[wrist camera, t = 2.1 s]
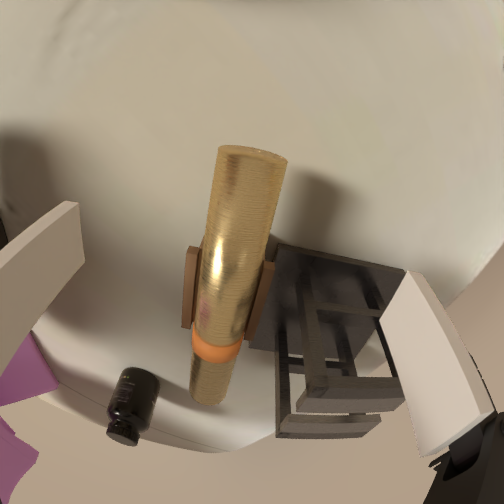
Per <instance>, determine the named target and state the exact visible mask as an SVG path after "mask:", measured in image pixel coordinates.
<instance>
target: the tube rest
mask: <svg viewBox="0 0 504 504" xmlns="http://www.w3.org/2000/svg"><path fill="white" fill-rule="evenodd" d="M204 237H205V235H204ZM204 237H203V240H202V242H201V245H200V247H199V248H198V247H193V246H189V248H188V250H187V253H186V264H185V276H184V290H183V306H182V326H181V327H182V328H186V329H190V328H191V324H192V322H194V321H195V313H196V303H197V294H198V285H199V276H200V268H201V260H202V252H203V245H204ZM274 272H275V262H269V261H265V253H264V256H263V260H262V264H261V268H260V272H259V275H258V279H257V283H256V287H255V290H254V294H253V298H252V302H251V305H250V309H249V313H248V317H247V320H246V324H245V328H244V332H245V334H244V340H249V341H253V339H254V336H255V333H256V329H257V326H258V323H259V320H260V317H261V314H262V311H263V307H264V304H265V301H266V298H267V294H268V291H269V288H270V285H271V281H272V278H273V275H274Z"/></svg>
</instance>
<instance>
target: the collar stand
mask: <svg viewBox="0 0 504 504" xmlns="http://www.w3.org/2000/svg"><path fill="white" fill-rule="evenodd" d="M273 262H275V272H274V275H273V278H272V281H271V285H270V288H269V291H268V294H267V298H266V301H265V304H264V307H263V311H262V314H261V317H260V320H259V323H258V326H257V329H256V333H255V336H254V339H253V341H249V348H254V349H260V350H267V351H274V352H275V399H276V438H291V439H340V438H358V437H362V436H364V435H365V434H366V433H367V432H369V431H370V430H371V429H373V428H374V427H375V426H376V425H378V424H379V423H380V422H381V417H380V414H373V415H366V413H369V412H385V411H394V410H395V409H396V408H397V407H398V406H399V405H401V404H402V403H403V402H404V401H405V400H406V399H405V396H404V393H403V389H402V386H401V383H400V379H399V376H398V373H397V370H396V367H395V364H394V361H393V358H392V355H391V352H390V349H389V346H388V343H387V341H386V338H385V335H384V332H383V330H382V327H381V324H380V322H379V320H380V318H381V316H382V315H383V313H384V312H385V310H386V308H387V307H388V305H389V303H390V302H391V300H392V298H393V296H394V295H395V293H396V291H397V289H398V288H399V286H400V284H401V282H402V280H403V279H404V277H405V275H406V273H405V272H404V270H402V269H398V268H393V267H389V266H384V265H380V264H375V263H370V262H366V261H361V260H356V259H352V258H347V257H342V256H338V255H333V254H328V253H323V252H319V251H314V250H309V249H304V248H299V247H294V246H290V245H285V244H280V243H279V244H278V247H277V251H276V254H275V258H274V261H273ZM374 329H376V330H377V332H378V335H379V338H380V341H381V344H382V346H383V349H384V352H385V355H386V358H387V361H388V364H389V367H390V370H391V373H392V377H358V376H357V372H356V368H355V364H354V359H355V357H356V356H357V354H358V353H359V352H360V350H361V349H362V347H363V346H364V344H365V343H366V341H367V340H368V338H369V337H370V335H371V334H372V332H373V331H374ZM288 353H290V354H298V355H303V358H295V357H288ZM325 357H327V358H338V359H339V362H336V361H325ZM289 373H297V374H305V380H306V389H305V391H304V392H303V394H302V395H301V397H300V398H299V399H298V401H297V402H296V412H308V413H349V415H347V416H346V415H345V416H344V415H343V416H329V415H298V414H291V404H290V382H289Z"/></svg>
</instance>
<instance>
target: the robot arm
mask: <svg viewBox="0 0 504 504" xmlns="http://www.w3.org/2000/svg"><path fill="white" fill-rule="evenodd" d="M84 262H85V256H84V249H83V241H82V232H81V222H80V210H79V203H76V202H71V201H63V202H62V203H60V204H59V205H58V206H56V207H55V208H53V209H52V210H51V211H49V212H48V213H46V214H45V215H44V216H42V217H41V218H40V219H38V220H37V221H36V222H34V223H33V224H32V225H31V226H29V227H28V228H27V229H25V230H24V231H23V232H22V233H20V234H19V235H18V236H17V237H16V238H14V239H13V240H12V241H11V242H10V243H8V242H7V238H6V234H5V231H4V228H3V225H2V223H1V220H0V377H1V375H2V373H3V372H4V370H5V368H6V367H7V365H8V364H9V362H10V360H11V359H12V357H13V356H14V354H15V353H16V351H17V349H18V348H19V346H20V345H21V343H22V342H23V341H24V339H25V338H26V336H27V335H28V333H29V332H30V330H31V329H32V328H33V326H34V325H35V323H36V322H37V321H38V319H39V318H40V317H41V315H42V314H43V313H44V311H45V310H46V309H47V307H48V306H49V305H50V304H51V302H52V301H53V300H54V298H55V297H56V296H57V295H58V293H59V292H60V291H61V290H62V288H63V287H64V286H65V285H66V284H67V282H68V281H69V280H70V279H71V278H72V276H73V275H74V274H75V273H76V272H77V271H78V269H79V268H80V267H81V266H82V265H83V264H84ZM379 322H380V324H381V327H382V330H383V332H384V335H385V338H386V341H387V343H388V346H389V349H390V352H391V355H392V358H393V361H394V364H395V367H396V370H397V373H398V376H399V379H400V383H401V386H402V389H403V393H404V396H405V399H406V403H407V406H408V410H409V413H410V417H411V421H412V425H413V429H414V433H415V437H416V441H417V445H418V450H419V455H420V457H424V456H428V455H433V454H436V453H438V452H439V451H441V450H442V449H444V448H445V447H447V446H449V449H450V450H449V451H448V452H447V453H445V454H443V455H442V456H440V457H438V458H437V459H435V460H433V461H432V462H431V463H430V465H429V467H432V466H434V465H436V464H438V463H439V462H441V464H439V465H438V466H436V467H435V468H434V470H435V471H437V474H436V476H435V479H434V481H433V483H432V486H431V488H430V490H429V492H428V494H427V497H426V498H425V500H424V502H423V504H504V412H500V413H499V414H498V413H497V411H496V409H495V406H494V404H493V401H492V399H491V396H490V394H489V392H488V389H487V387H486V385H485V383H484V380H483V379H481V378H482V376H481V374H480V372H479V370H477V365H476V363H475V361H474V359H473V357H472V356H471V355H470V353H469V352H468V351H467V349H466V347H465V345H464V343H463V341H462V339H461V338H460V336H459V334H458V332H457V330H456V328H455V327H454V325H453V323H452V321H451V320H450V318H449V316H448V314H447V313H446V311H445V309H444V308H443V306H442V305H441V303H440V301H439V300H438V298H437V296H436V295H435V293H434V292H433V290H432V289H431V287H430V286H429V284H428V282H427V281H426V279H425V278H424V276H423V275H422V274H421V273H417V272H413V271H409V270H408V271H407V273H406V275H405V277H404V279H403V280H402V282H401V284H400V286H399V288H398V289H397V291H396V293H395V295H394V296H393V298H392V300H391V302H390V303H389V305H388V307H387V308H386V310H385V312H384V313H383V315H382V316H381V318H380V320H379ZM0 504H2V502H1V499H0Z"/></svg>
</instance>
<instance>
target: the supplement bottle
mask: <svg viewBox="0 0 504 504" xmlns="http://www.w3.org/2000/svg"><path fill="white" fill-rule="evenodd" d="M159 390H160V383H159V381H158V380H157V378H156V377H155V376H153V375H152V374H151V373H149V372H147V371H145V370H142V369H139V368H134V367H130V368H126V369H124V370H123V371H122V373H121V375H120V378H119V380H118V383H117V385H116V388H115V390H114V393H113V395H112V398H111V400H110V403H109V406H108V409H107V416H108V418H109V420H110V421H111V422H110V423H109V424H108V429H107V432H106V434H107V435H108V436H109V437H110V438H112V439H113V440H115V441H117V442H119V443H121V444H124V445H127V446H136V445H137V443H138V439H139V438H140V434H139V433H142V432H145V431H146V430H147V429H148V428H149V425H150V422H151V418H152V415H153V411H154V407H155V404H156V400H157V397H158V393H159Z"/></svg>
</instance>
